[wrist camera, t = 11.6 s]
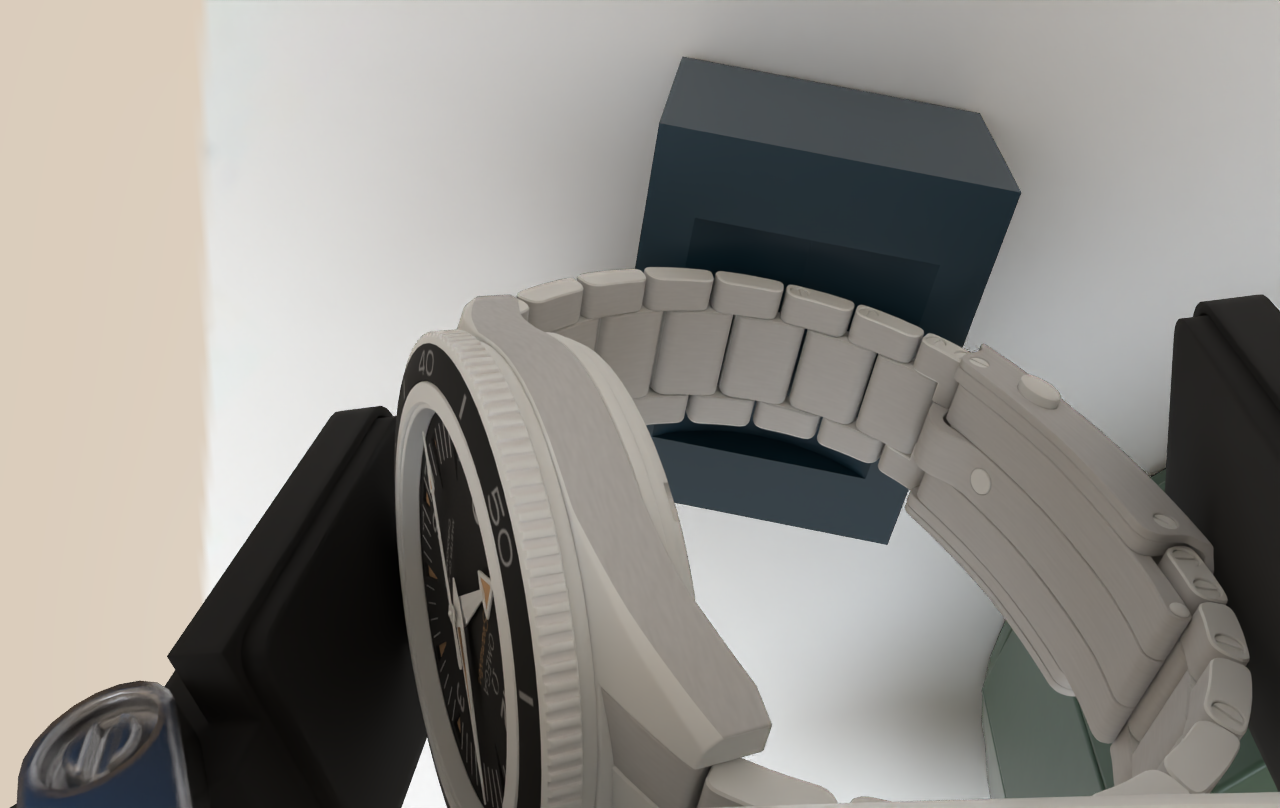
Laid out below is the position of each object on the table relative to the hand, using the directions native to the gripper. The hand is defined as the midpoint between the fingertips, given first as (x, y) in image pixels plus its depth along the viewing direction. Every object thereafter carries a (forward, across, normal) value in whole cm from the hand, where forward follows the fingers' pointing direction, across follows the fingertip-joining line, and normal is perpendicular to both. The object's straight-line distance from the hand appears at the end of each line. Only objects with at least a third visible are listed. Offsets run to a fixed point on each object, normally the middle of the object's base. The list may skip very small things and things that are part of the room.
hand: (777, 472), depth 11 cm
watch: (+6, 0, 0) cm, 6 cm away
